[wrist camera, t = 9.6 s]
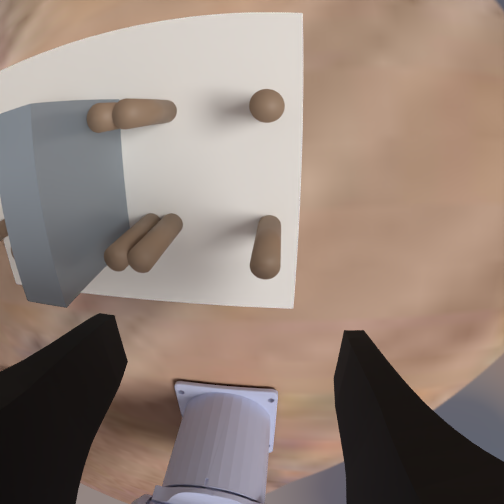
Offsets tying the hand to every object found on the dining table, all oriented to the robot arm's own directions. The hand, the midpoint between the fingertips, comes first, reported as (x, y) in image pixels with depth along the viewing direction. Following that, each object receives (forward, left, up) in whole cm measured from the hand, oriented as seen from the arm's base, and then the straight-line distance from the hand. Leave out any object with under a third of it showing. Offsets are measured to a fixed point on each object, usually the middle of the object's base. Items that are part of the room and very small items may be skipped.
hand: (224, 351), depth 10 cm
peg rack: (+4, +8, -9) cm, 13 cm away
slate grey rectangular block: (+4, +8, -8) cm, 12 cm away
